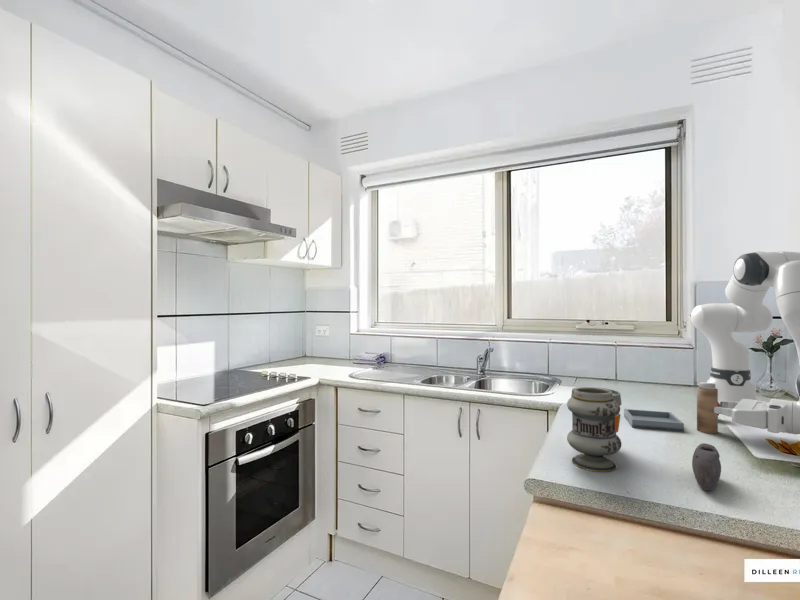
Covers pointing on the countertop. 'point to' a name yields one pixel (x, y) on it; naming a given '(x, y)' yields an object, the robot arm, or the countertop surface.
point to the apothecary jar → (593, 428)
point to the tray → (653, 420)
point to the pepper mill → (707, 408)
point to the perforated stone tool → (706, 466)
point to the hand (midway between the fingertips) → (717, 406)
